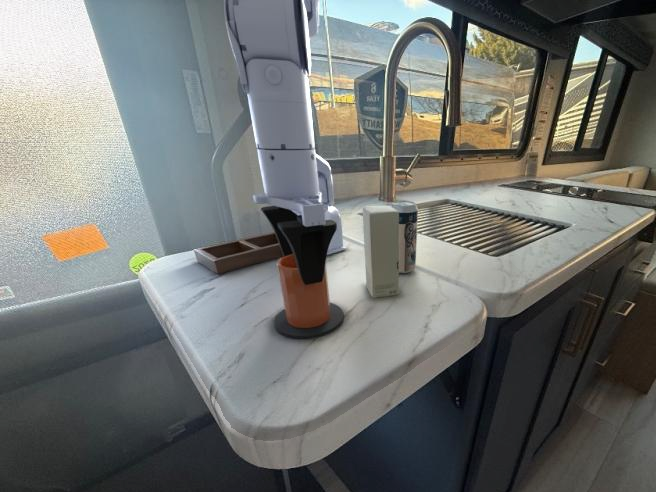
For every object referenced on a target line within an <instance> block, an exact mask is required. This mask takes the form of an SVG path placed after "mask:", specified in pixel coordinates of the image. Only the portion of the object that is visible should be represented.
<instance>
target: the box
mask: <svg viewBox="0 0 656 492" xmlns="http://www.w3.org/2000/svg"><path fill="white" fill-rule="evenodd" d="M362 225H363V227H362V229H363V246H364V265H365V267H364V268H365V284H366V285H365V287H366V288H367V290H368V292H369V294H370V296H371V297H372V298H383V297H390V296H397V295H399V294H400V286H399V285H400V284H399V283H400V273H399V212H398V211H397V210H395V209H394V208H392V207H391V205H371V206H370V205H368V206H367V205H366V206H363V207H362Z"/></svg>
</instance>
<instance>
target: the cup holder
mask: <svg viewBox="0 0 656 492" xmlns="http://www.w3.org/2000/svg"><path fill="white" fill-rule="evenodd" d="M193 252H194V255H195V259H196V262H197V263H199V264H200V265H202V266H203V267H205V268H207V270H210V271H211V272H213V273H215V274H217V275H221V274H224V273H228V272H231V271H235V270H239V269H242V268H245V267H246V268H247V267H248V266H252V265H256V264H259V263H260V264H261V263H264V262H267V261H270V260H273V259H279V258H282V257H284V255H283V253H282V250H281V247H280V245H279V242H278V239H277V237H276V234H275V232H274V231H272V232H268V233H263V234H258V235H253V236H249V237H245V238H239V239H236V240H235V239H234V240H231V241H230V240H229V241H227V242H221V243H217V244H213V245H212V244H211V245H208V246H207V245H206V246H204V247H199V248H194V249H193Z"/></svg>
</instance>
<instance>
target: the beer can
mask: <svg viewBox="0 0 656 492" xmlns="http://www.w3.org/2000/svg"><path fill="white" fill-rule="evenodd" d="M390 207H392V208H394V209H395V210H397V211H398V212H399V274H410V273H411V272H413V271H415V270H416V266H417V265H416V263H417V241H418V238H417V237H418V220H419V219H418V218H419V208H418V205H417V203H416V202H414V201H407V200H398V201H393V202H392V203H391V205H390Z"/></svg>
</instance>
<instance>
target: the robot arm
mask: <svg viewBox="0 0 656 492" xmlns="http://www.w3.org/2000/svg"><path fill="white" fill-rule="evenodd" d="M319 10H320V0H223V14H224V20H225V27H226V32H227V36H228V40H229V44H230V47H231V50H232V53H233V56H234V59H235V62H236V66H237V70H238V74H239V80H240V84H241V88H242V91H243V93H245V94H246V95H247V100H248V107H249V113H250V118H251V124H252V125H251V126H252V129H253V135H254V141H255V147H256V152H257V157H258V163H259V169H260V170H259V171H260V175H261V180H262V181H261V182H262V187H263V191H264V193H257V194H253V195H252V199H253V202H254V203H255V204H257V205H268V206H262V207H260V211H261V212H262V214H263V215H264V216H265V217H266V219H267V221H268V222H269V224H270V226H271V228H272V230H273V232H275V234H276V237H277V239H278V242H279V245H280V247H281V250H282V253H283V255H284V256H287V255H290V254H294V257H295V260H296V264H297V267H298V271H299V274H300V276H301V279H302V281H303V283H304V284H305V285H309V284H314V283H318V282H322V281H323V276H324V270H325V263H326V264H327V256H329V255H332V254H335V253H338V252H341V251H345V250H347V247H346V246H344V238H343V237H344V236H343V235H344V234H343V224H342V216H341V214H340V212H339V210H338V209H337V208H336V207H335V206H333V205H334V204H335V193H334V181H333V175H332V168H331V166H330V164H329V162H328V161H327V160H325V159H324V158H322V156H320V155H318V154H317V153H316V149H315V148H316V144H315V134H314V124H313V115H312V103H311V93H310V84H309V78H308V76H309V77H310V76H311V69H312V58H311V57H312V56H311V55H312V54H311V44H310V39H311V38H313V37H314V36H316V35H318V34H319V26H320V13H319V12H320V11H319ZM284 256H283V257H284Z"/></svg>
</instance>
